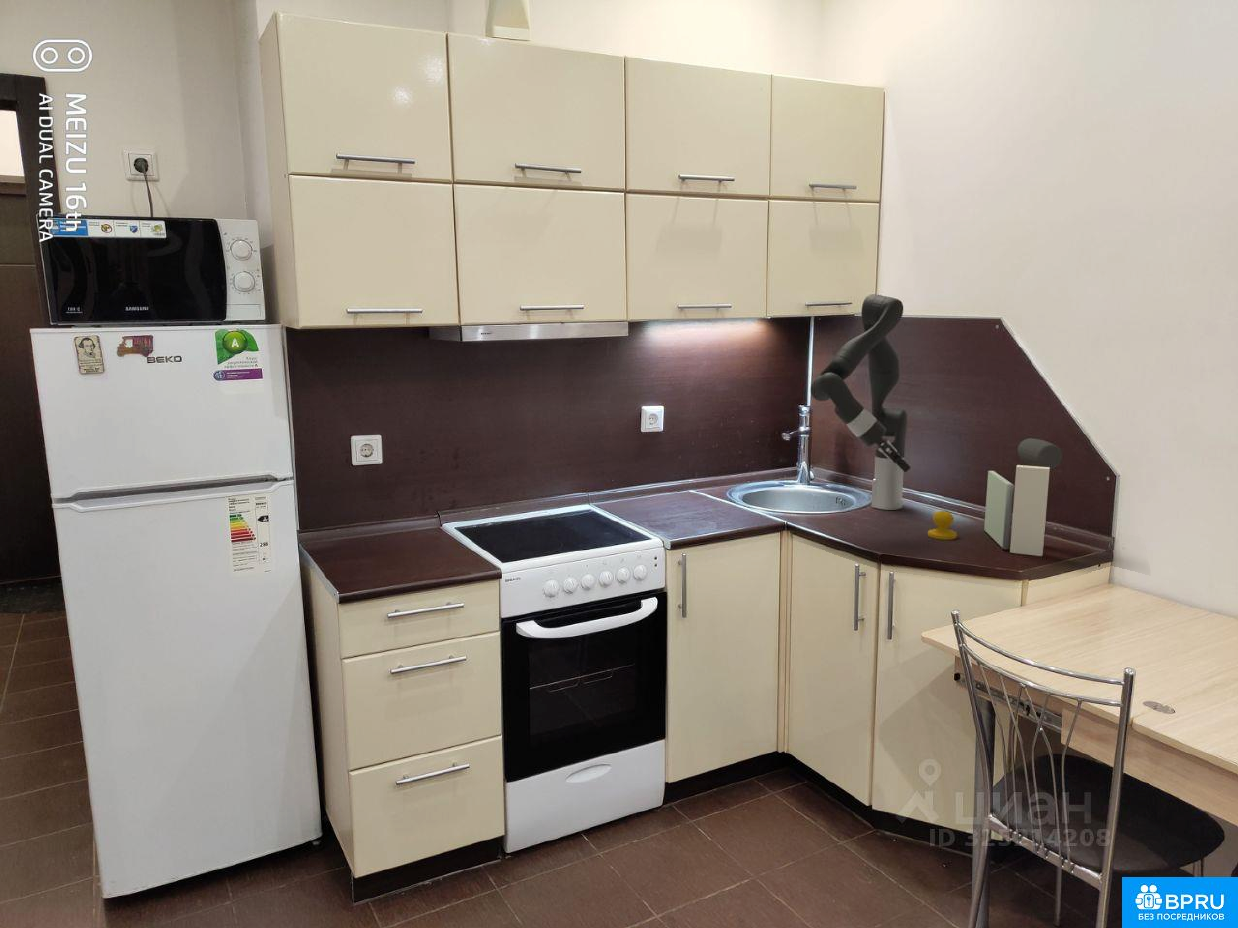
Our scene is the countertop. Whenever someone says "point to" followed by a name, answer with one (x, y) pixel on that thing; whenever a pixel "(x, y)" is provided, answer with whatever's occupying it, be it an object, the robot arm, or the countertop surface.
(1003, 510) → the door
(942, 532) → the doorknob
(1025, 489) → the panel
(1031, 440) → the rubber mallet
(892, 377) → the robot arm
